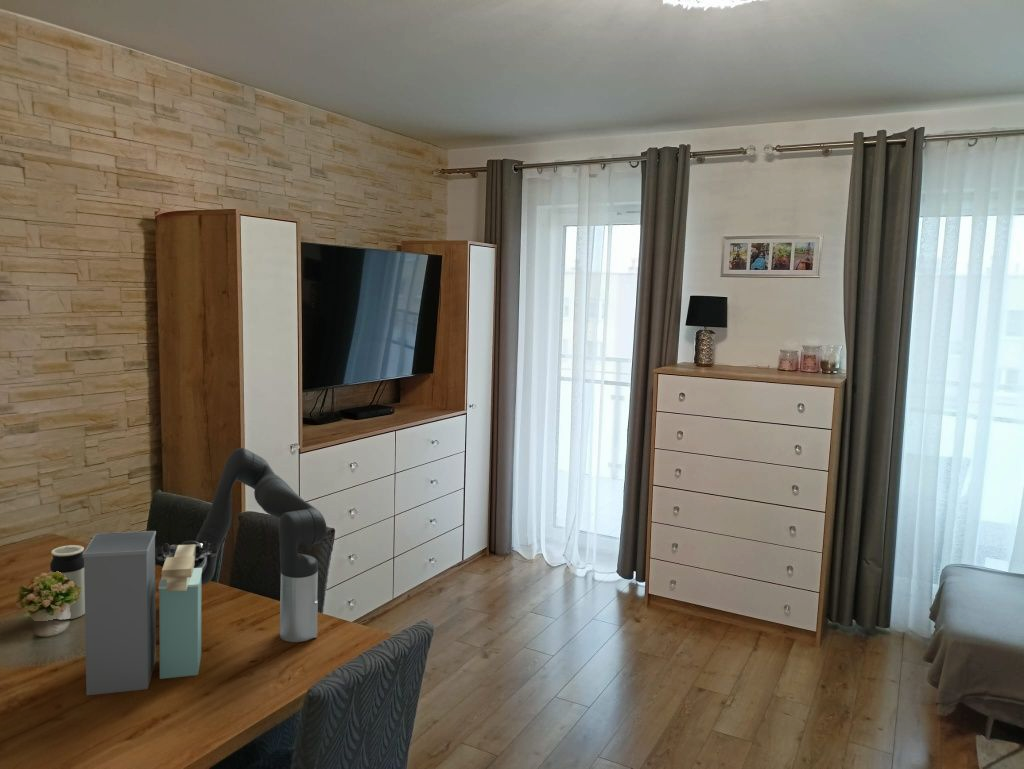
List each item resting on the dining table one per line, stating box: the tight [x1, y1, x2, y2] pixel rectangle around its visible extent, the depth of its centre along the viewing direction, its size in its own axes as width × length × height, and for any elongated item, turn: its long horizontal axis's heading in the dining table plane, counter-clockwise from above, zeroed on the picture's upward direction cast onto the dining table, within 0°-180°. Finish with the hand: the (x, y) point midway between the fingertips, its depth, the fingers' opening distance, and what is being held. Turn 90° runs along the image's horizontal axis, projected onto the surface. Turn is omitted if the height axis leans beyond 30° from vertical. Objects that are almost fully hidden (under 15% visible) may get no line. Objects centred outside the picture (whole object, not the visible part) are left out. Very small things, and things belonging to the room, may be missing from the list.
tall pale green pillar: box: [157, 568, 202, 680], centre depth 175 cm, size 8×10×22 cm
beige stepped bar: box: [161, 544, 195, 592], centre depth 175 cm, size 6×22×5 cm, turn 18°
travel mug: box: [49, 544, 85, 620], centre depth 198 cm, size 8×8×18 cm
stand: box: [82, 530, 157, 696], centre depth 168 cm, size 12×13×32 cm
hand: (185, 546), depth 182 cm, fingers open, 8 cm apart
